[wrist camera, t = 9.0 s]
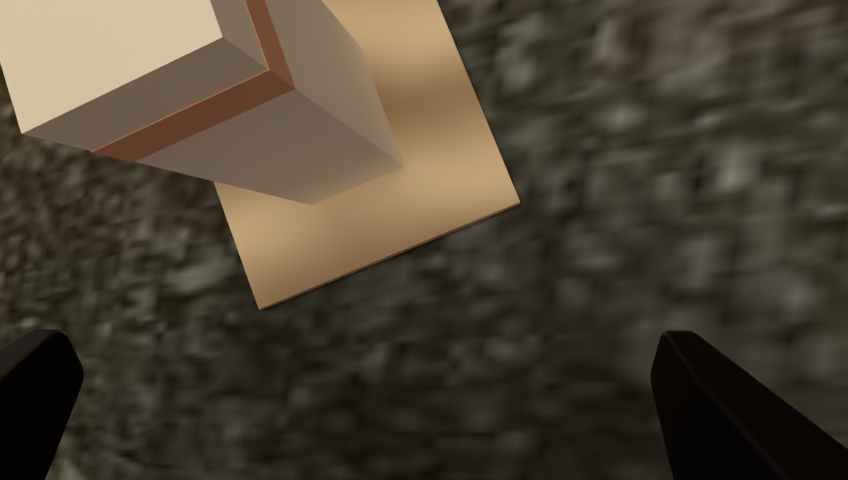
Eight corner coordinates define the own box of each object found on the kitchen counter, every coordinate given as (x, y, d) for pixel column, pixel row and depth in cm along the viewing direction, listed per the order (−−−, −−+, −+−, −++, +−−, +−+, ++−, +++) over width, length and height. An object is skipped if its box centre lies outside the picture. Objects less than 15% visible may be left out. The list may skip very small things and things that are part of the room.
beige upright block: (405, 166, 22) (224, 37, 9) (311, 205, 23) (21, 135, 10) (361, 47, 23) (131, -231, 10) (270, 88, 23) (-56, -121, 10)
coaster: (520, 204, 22) (520, 202, 21) (268, 307, 24) (258, 309, 23) (415, -51, 23) (411, -62, 22) (182, 67, 25) (170, 60, 24)
